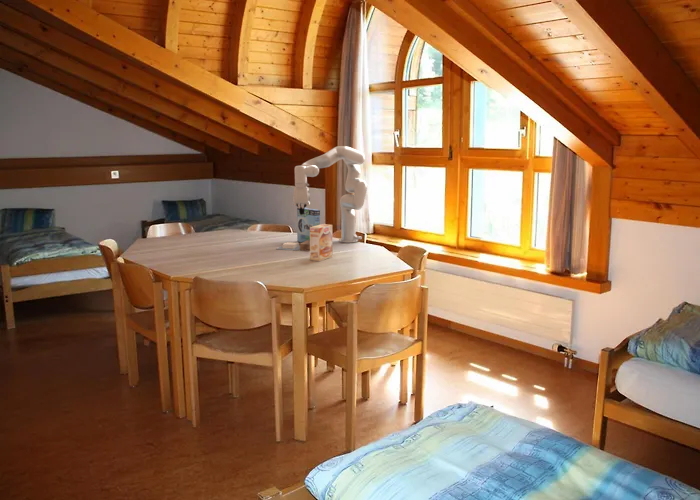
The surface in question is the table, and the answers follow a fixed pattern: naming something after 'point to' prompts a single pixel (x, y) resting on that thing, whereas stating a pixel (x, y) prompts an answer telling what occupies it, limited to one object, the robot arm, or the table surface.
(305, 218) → the gum box
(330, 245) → the coffeecake box
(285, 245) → the cream coaster
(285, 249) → the slate mat
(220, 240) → the table surface
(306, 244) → the board
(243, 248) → the table surface
